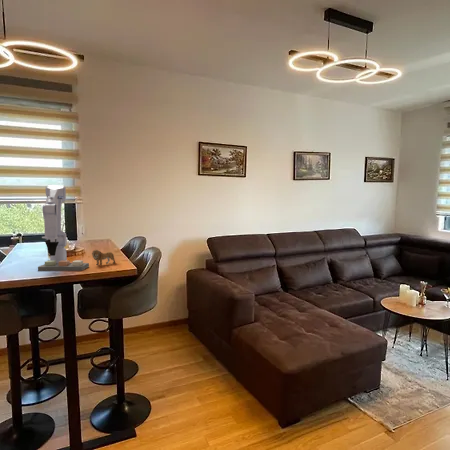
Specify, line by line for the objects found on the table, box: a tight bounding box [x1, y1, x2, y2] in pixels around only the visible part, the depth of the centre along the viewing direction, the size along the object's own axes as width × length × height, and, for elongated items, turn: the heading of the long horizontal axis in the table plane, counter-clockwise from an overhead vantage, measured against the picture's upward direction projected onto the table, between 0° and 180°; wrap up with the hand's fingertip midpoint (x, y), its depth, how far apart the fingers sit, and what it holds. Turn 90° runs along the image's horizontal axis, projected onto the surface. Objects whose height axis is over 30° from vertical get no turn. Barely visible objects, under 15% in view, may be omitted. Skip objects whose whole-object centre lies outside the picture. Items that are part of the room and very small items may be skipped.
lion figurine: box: [91, 249, 116, 266], centre depth 189 cm, size 15×5×9 cm, turn 146°
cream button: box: [71, 259, 84, 266], centre depth 177 cm, size 4×4×3 cm
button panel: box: [37, 262, 90, 272], centre depth 177 cm, size 10×22×2 cm, turn 93°
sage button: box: [44, 259, 56, 266], centre depth 176 cm, size 4×4×3 cm
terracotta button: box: [59, 259, 71, 266], centre depth 176 cm, size 4×4×3 cm
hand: (51, 254), depth 171 cm, fingers open, 7 cm apart
